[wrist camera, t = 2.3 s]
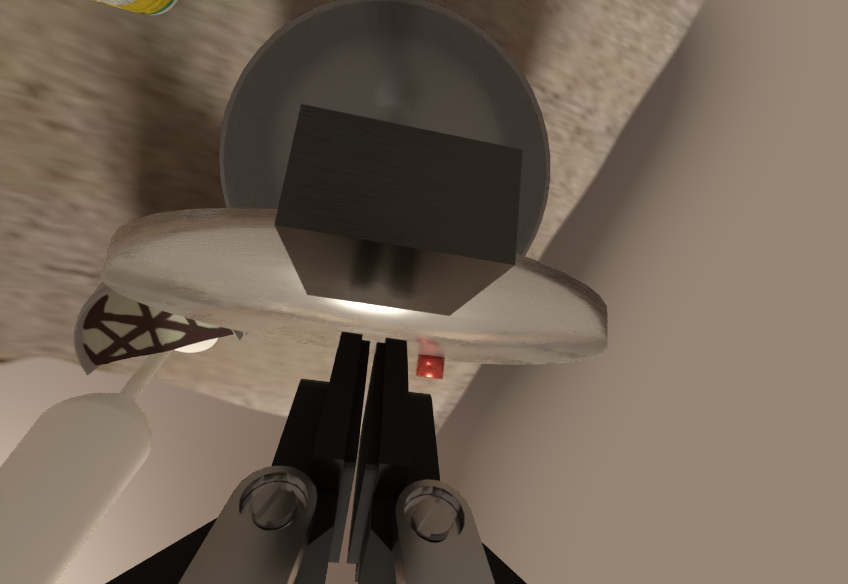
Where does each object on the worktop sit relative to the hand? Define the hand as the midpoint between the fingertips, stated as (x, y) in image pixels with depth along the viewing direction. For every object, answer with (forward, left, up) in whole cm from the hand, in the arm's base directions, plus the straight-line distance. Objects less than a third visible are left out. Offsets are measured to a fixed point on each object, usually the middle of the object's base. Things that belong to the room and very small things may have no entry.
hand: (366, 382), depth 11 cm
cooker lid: (+1, 0, -6) cm, 6 cm away
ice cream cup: (+10, -15, -26) cm, 32 cm away
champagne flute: (+17, -17, -26) cm, 35 cm away
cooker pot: (-2, 0, -26) cm, 26 cm away
